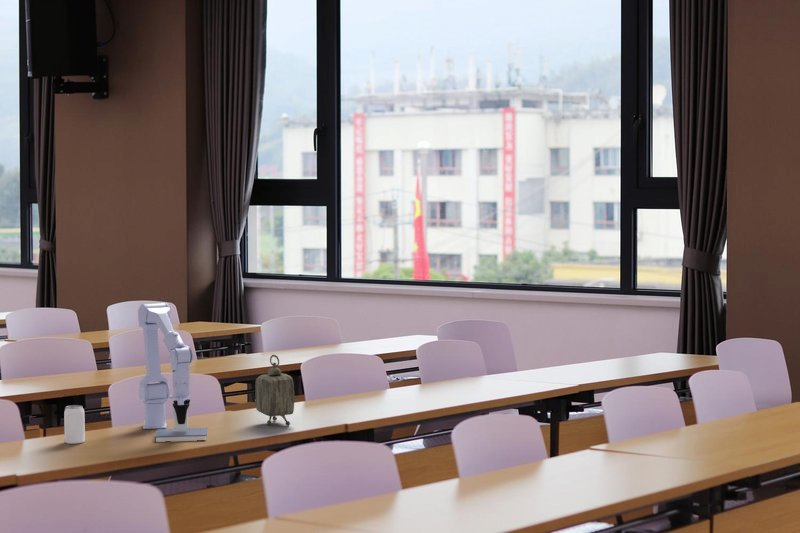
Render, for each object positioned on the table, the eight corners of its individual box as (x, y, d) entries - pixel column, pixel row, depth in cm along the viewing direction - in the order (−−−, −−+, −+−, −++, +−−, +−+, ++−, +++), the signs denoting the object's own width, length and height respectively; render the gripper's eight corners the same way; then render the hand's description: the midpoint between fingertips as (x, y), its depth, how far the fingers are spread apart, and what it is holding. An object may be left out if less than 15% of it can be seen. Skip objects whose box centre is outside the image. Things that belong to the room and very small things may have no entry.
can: (79, 444, 387) (78, 408, 386) (61, 443, 388) (60, 408, 387) (88, 440, 393) (87, 405, 392) (70, 439, 394) (69, 404, 394)
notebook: (157, 436, 403) (157, 429, 403) (207, 434, 405) (207, 427, 405) (155, 443, 391) (155, 436, 391) (206, 442, 393) (206, 434, 393)
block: (174, 426, 399) (174, 409, 399) (187, 426, 400) (187, 408, 400) (173, 429, 395) (173, 411, 395) (187, 428, 396) (187, 411, 395)
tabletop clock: (294, 426, 417) (294, 356, 415) (271, 429, 412) (270, 358, 410) (276, 419, 429) (276, 351, 427) (254, 422, 424) (253, 353, 423)
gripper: (170, 379, 403) (170, 418, 404) (168, 386, 389) (168, 427, 390) (190, 379, 404) (191, 418, 405) (189, 386, 390) (190, 426, 391)
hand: (181, 422), depth 398 cm, fingers closed on block, 4 cm apart
